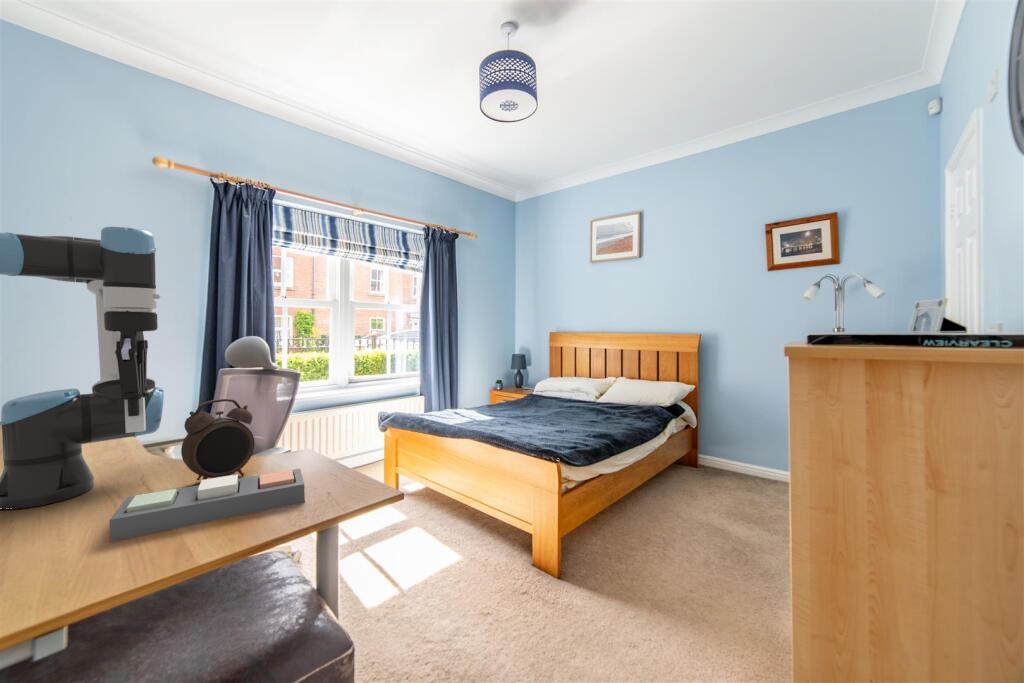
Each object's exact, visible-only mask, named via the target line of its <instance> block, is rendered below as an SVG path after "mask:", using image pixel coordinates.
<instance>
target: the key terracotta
mask: <svg viewBox="0 0 1024 683" xmlns="http://www.w3.org/2000/svg"><path fill="white" fill-rule="evenodd" d="M292 470H293V469H288V470H283V471H275V472H269V473H266V474H265V473H263V474H260V489H263V488H268V487H274V486H279V485H285V484H290V483H294V476H293V471H292Z"/></svg>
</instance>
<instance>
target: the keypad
mask: <svg viewBox="0 0 1024 683" xmlns="http://www.w3.org/2000/svg"><path fill="white" fill-rule="evenodd" d="M291 470H292V471H293V476H294V483H290V484H285V485H279V486H274V487H268V488H263V489H260V475H261V474H260V475H253V476H247V477H241V478H238V493H235V494H229V495H224V496H218V497H213V498H207V499H202V500H198V488H199V485H200V484H199V485H194V486H188V487H181V488H176V489H177V498H176V501H175V503H174V505H168V506H163V507H157V508H152V509H146V510H141V511H135V512H129V513H127V507H128V505H129V504H130V503H131V501H132V500H133V498H134V497H135V496H136V495H131V496H127V497H126V498H125V499H124V500H123V501H122V502H121V504H120V506H119V507H118V508H117V509H116V511H115V512H114V514H113V515H112V516H111V517H110V519H109V538H110V543H112V542H111V541H113V542H116V541H115V540H118V541H121V540H126V539H131V538H137V537H142V536H146V535H151V534H155V533H161V532H165V531H172V530H175V529H176V530H177V529H181V528H184V527H190V526H196V525H200V524H205V523H209V522H215V521H221V520H224V519H229V518H230V519H231V518H235V517H238V516H244V515H248V514H254V513H259V512H264V511H268V510H273V509H279V508H284V507H288V505H289V506H293V504H294V505H298V504H297V503H299V504H303V503H305V502H306V501H305V498H306V497H305V492H306V491H305V481H304V478H303V475H302V471H301V468H297V469H291ZM302 502H303V503H302Z"/></svg>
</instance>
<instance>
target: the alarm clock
mask: <svg viewBox="0 0 1024 683" xmlns="http://www.w3.org/2000/svg"><path fill="white" fill-rule="evenodd" d="M221 402H230V403H231V402H232V403H233V404H234V405H235V406H236V408H233V409H230V410H229V411H228V413H227V414H226V415H225V417H222V416H221V415H223V414H224V411H222V410H220V411H216V412H215V415H217V416H218V417H214V416H213V415H212V414H211V413H209V412H206V411H201V410H202V408H203V407H205V406H207V405H209V404H214V403H221ZM189 415H190V416H189V417H187V418H186V419H185V422H184V424H183V425H184V429H185V431H186V433H187V434H186V435H185V437H184V439H183V440H182V444H181V450H180V453H181V454H180V455H181V458H182V461H183V464H185V466H186V467H187V468H188V469H189V470H190V471H191V472H192V473H194V474H196V475H198V477H197V478H196V481H199V480H200V481H201V480H205V479H211V478H217V477H224V476H230V475H235V473H239V474H240V476H241V475H243V476H244V475H245V473H243V471H242V469H243V468H244V467H245V466H246V465H247V463H248V462H249V461H250V459H251V457H252V456H253V453H254V450H255V446H256V444H255V442H256V441H255V438H254V434H253V432H252V431H251V429H250V428H248V427H247V426H246V425H245V424H247V425H251V424H252V421H253V413H252V412H250V411H249V409H248V405H247V404H245V405H243V407H241V405H240V404H239V403H238V402H237V401H236V400H235V399H231V398H220V399H219V398H218V399H213V400H208V401H205V402H203V403H201V404H200V405H199V406H198V407H197V409H196V410H195V411H190V412H189ZM201 478H202V479H201Z"/></svg>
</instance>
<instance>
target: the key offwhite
mask: <svg viewBox="0 0 1024 683" xmlns="http://www.w3.org/2000/svg"><path fill="white" fill-rule="evenodd" d="M238 479H239V474H237V473H236V474H232V475H229V476H224V477H217V478H207V479H205V480H202V479H200V483H199V488H198V500H202V499H207V498H213V497H218V496H224V495H229V494H235V493H238Z"/></svg>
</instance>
